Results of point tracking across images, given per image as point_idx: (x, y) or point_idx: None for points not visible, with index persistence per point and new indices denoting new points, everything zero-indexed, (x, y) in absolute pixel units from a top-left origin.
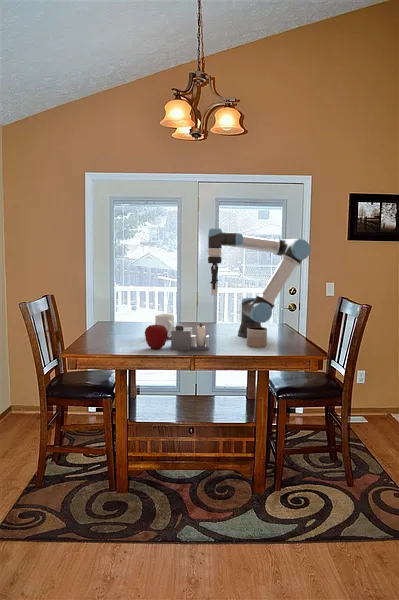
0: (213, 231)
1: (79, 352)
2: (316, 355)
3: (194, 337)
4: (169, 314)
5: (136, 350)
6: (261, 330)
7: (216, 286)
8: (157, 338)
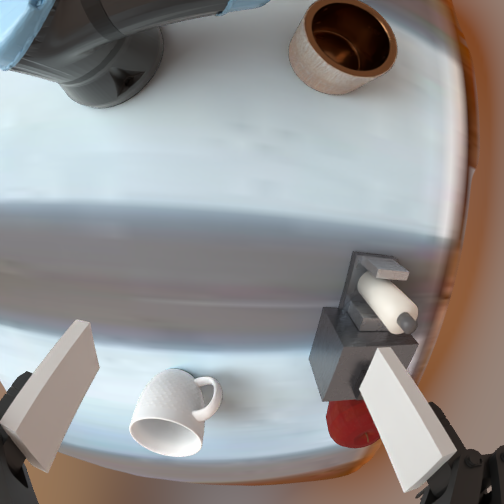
0: None
1: (346, 468)
2: None
3: None
4: (132, 424)
5: None
6: (393, 35)
7: (51, 382)
8: None
